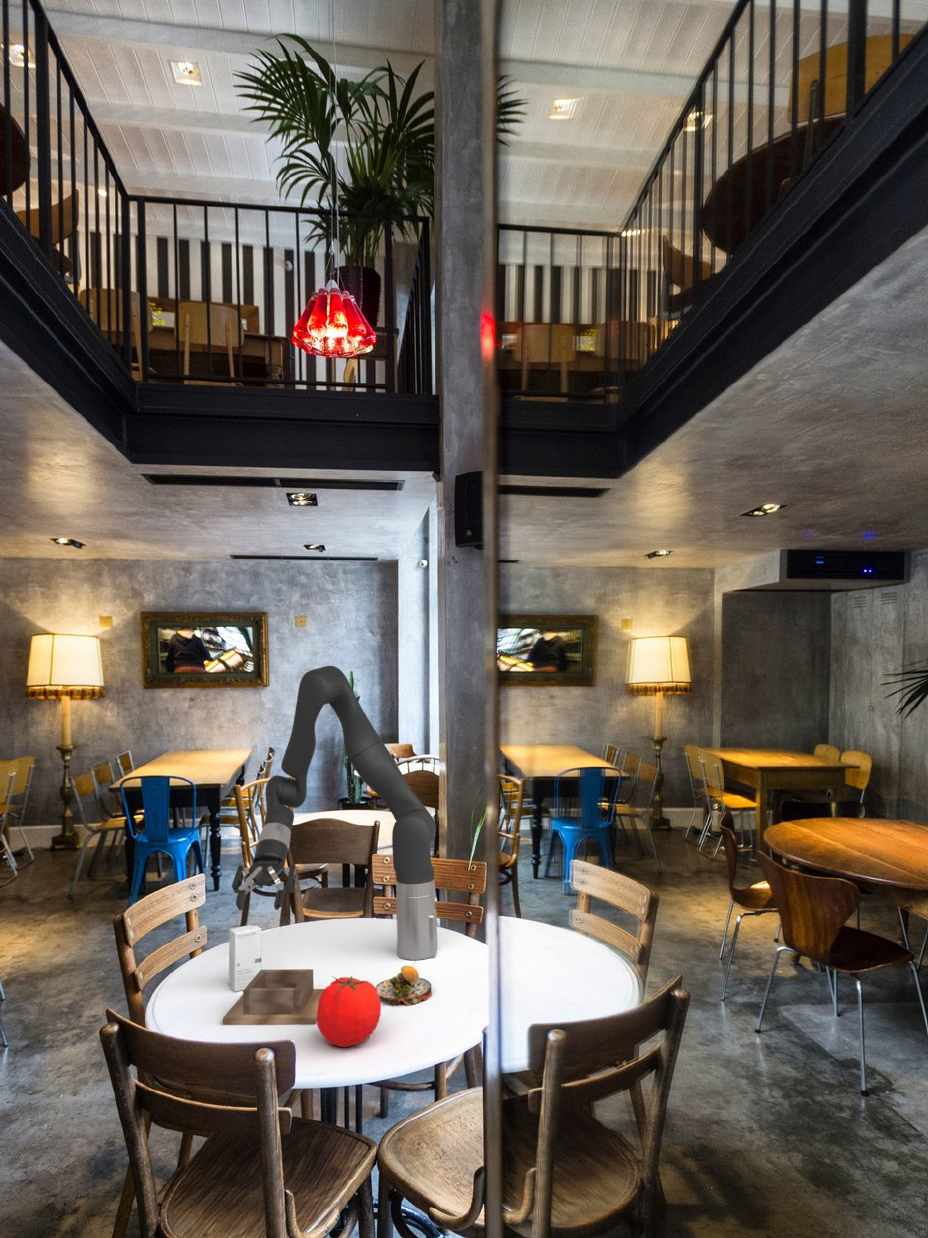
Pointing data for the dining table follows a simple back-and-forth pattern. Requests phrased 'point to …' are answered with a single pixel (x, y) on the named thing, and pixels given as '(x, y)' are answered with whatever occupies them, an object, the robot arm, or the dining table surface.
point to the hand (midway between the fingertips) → (258, 908)
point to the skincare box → (244, 955)
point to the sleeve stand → (277, 999)
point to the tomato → (348, 1011)
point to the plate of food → (405, 988)
